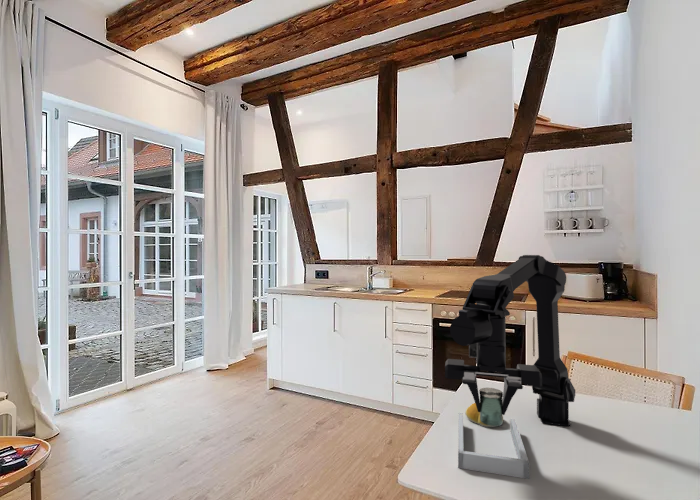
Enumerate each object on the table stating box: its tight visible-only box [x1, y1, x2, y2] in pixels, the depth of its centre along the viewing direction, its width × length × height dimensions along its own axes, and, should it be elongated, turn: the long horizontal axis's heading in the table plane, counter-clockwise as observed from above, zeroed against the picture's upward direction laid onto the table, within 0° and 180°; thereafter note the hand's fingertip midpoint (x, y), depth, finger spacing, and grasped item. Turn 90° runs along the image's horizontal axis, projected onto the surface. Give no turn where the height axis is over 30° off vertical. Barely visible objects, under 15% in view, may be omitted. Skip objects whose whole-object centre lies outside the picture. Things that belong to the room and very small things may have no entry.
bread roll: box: [465, 402, 504, 428], centre depth 99 cm, size 8×9×4 cm
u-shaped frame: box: [457, 412, 530, 480], centre depth 84 cm, size 13×20×3 cm, turn 164°
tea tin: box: [478, 387, 503, 427], centre depth 80 cm, size 5×5×6 cm
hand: (491, 412), depth 80 cm, fingers closed on tea tin, 4 cm apart
